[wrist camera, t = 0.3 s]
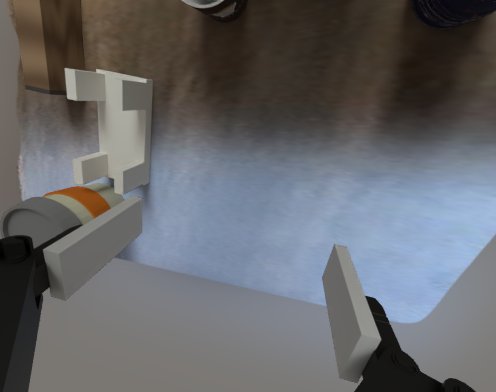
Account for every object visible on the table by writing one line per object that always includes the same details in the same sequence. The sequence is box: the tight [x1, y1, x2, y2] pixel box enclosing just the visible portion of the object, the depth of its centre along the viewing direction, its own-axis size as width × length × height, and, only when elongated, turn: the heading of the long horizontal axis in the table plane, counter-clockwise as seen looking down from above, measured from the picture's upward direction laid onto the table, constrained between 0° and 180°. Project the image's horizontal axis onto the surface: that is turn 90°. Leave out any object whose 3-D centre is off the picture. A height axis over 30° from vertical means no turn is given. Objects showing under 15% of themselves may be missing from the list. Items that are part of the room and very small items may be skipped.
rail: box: [13, 0, 85, 95], centre depth 37 cm, size 15×4×7 cm, turn 169°
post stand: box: [65, 68, 153, 195], centre depth 41 cm, size 18×8×8 cm, turn 169°
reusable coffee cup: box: [0, 183, 124, 248], centre depth 44 cm, size 12×13×15 cm
